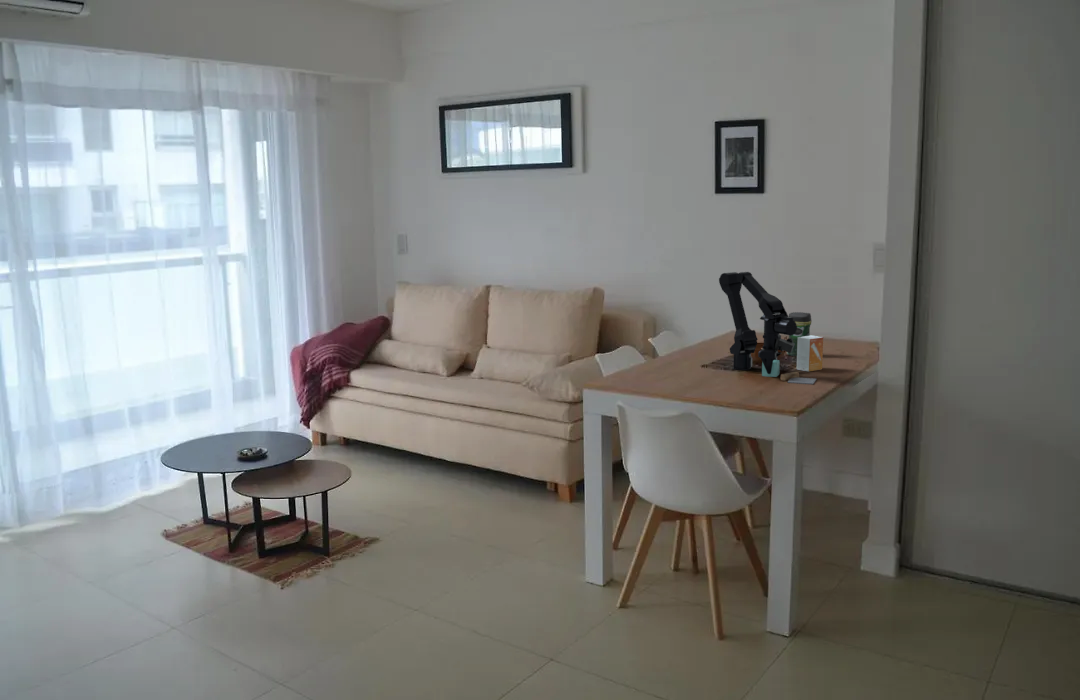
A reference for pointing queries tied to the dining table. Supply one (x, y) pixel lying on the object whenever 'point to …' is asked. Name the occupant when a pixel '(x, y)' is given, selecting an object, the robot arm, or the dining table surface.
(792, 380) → the coaster
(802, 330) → the coffee jar
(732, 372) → the dining table surface
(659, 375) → the dining table surface
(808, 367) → the small box
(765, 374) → the teal block
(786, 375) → the tan bar
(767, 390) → the dining table surface
